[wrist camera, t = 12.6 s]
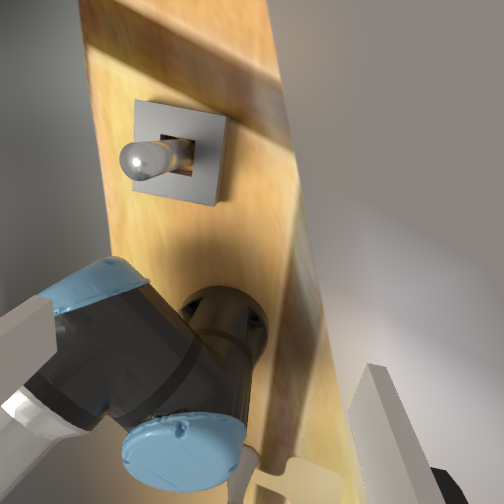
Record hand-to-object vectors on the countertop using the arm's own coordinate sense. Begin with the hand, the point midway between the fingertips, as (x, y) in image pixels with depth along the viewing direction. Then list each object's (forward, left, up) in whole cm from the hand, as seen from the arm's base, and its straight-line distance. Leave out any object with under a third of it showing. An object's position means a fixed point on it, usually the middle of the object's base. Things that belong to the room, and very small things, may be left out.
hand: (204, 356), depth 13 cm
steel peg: (+4, +11, -32) cm, 34 cm away
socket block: (+4, +11, -32) cm, 34 cm away
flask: (-52, -6, -32) cm, 61 cm away
